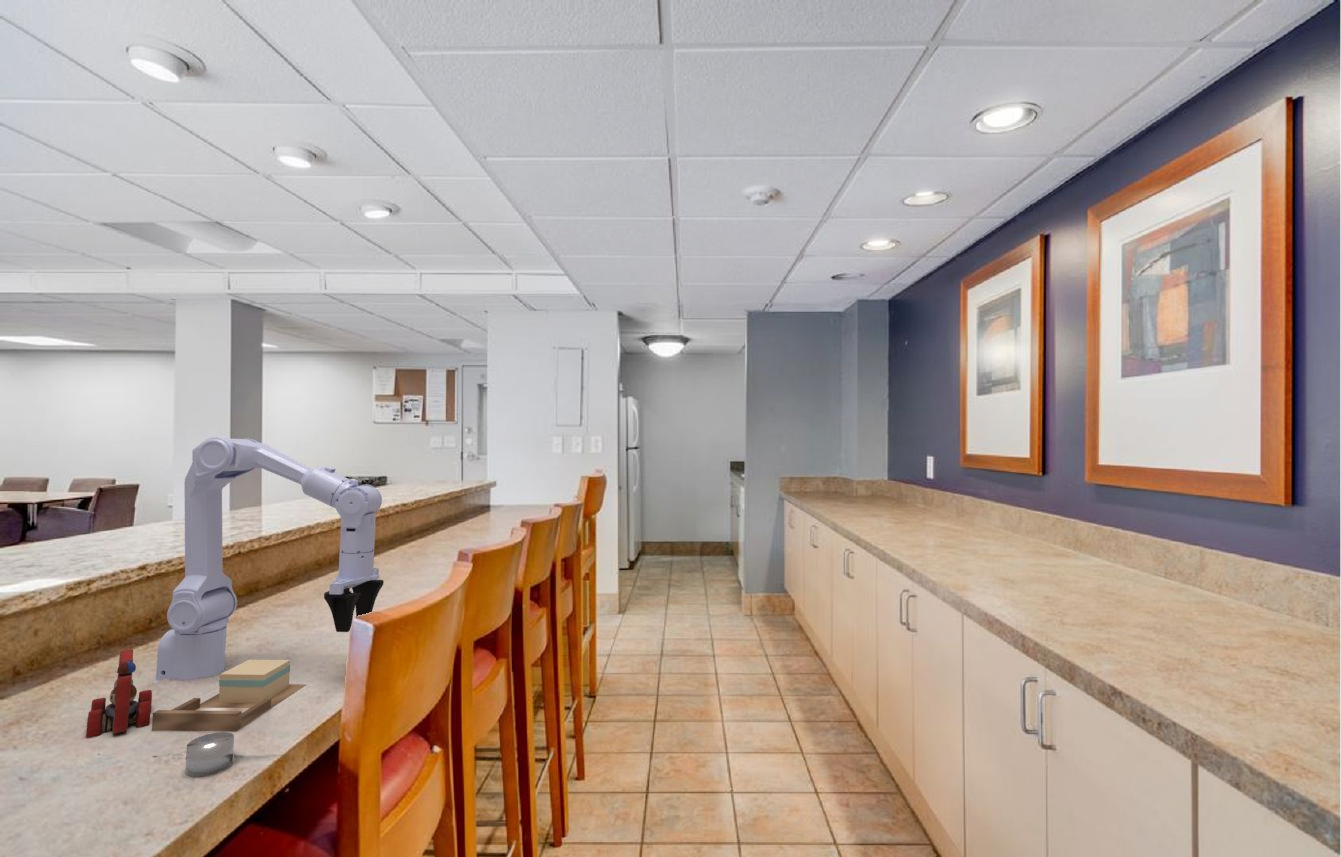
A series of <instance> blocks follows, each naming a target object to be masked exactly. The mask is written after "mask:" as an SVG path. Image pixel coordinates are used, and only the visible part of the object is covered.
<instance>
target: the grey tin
mask: <svg viewBox="0 0 1341 857" xmlns="http://www.w3.org/2000/svg"><path fill="white" fill-rule="evenodd" d="M234 747H235V735H234V733H233V732H232V733H231V732H214V733H213V732H212V733H208V734H204V735H201V736H198V737H196V738H194V739H192V740H191V741H189V742H188V743H187V745H186V754H185V755H186V756H185V758H186V759H185V775H186V777H189V778H203V777H209V776H214V775H216V774H219V773H222V772H223V771H226V770H227V769H229V768H230V767H231V766H232V765H233V763H234Z"/></svg>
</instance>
